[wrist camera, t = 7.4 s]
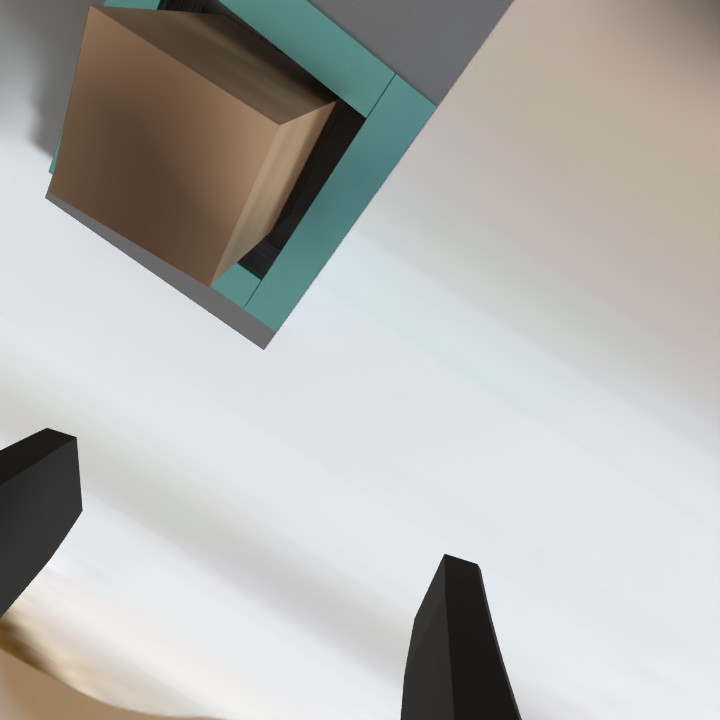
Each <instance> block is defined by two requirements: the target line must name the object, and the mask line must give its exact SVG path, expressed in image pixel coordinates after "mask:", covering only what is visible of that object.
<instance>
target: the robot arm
mask: <svg viewBox="0 0 720 720" xmlns="http://www.w3.org/2000/svg"><path fill="white" fill-rule="evenodd" d="M82 511H83V510H82V498H81V486H80V473H79V461H78V449H77V437H74V436H71V435H68V434H65V433H62V432H58V431H55V430H52V429H49V428H46V429H44V430H41V431H39V432H37V433H35V434H33V435H31V436H29V437H27V438H25V439H23V440H21V441H19V442H16V443H14V444H12V445H10V446H8V447H6V448H4V449H2V450H0V618H1V617H2V615H3V614H4V613H5V612H6V611H7V610H8V608H9V607H10V606H11V605H12V604H13V603H14V601H15V600H16V599H17V598H18V597H19V596H20V594H21V593H22V592H23V591H24V590H25V588H26V587H27V586H28V585H29V584H30V583H31V581H32V580H33V579H34V578H35V577H36V576H37V574H38V573H39V572H40V571H41V570H42V568H43V567H44V566H45V565H46V564H47V562H48V561H49V560H50V559H51V557H52V556H53V554H54V553H55V551H56V550H57V549H58V547H59V546H60V544H61V543H62V541H63V540H64V538H65V537H66V536H67V534H68V532H69V531H70V529H71V528H72V526H73V525H74V523H75V522H76V520H77V519H78V517H79V515H80V514H81V512H82ZM401 720H522V719H521V716H520V713H519V710H518V707H517V704H516V701H515V698H514V694H513V691H512V688H511V685H510V681H509V678H508V675H507V672H506V669H505V665H504V662H503V659H502V655H501V652H500V648H499V645H498V641H497V637H496V633H495V630H494V626H493V622H492V618H491V614H490V610H489V606H488V602H487V597H486V593H485V588H484V584H483V579H482V574H481V570H480V568H479V566H478V565H477V564H475V563H472V562H469V561H466V560H463V559H459V558H456V557H453V556H450V555H447V554H444V556H443V558H442V560H441V563H440V565H439V567H438V569H437V571H436V573H435V576H434V578H433V580H432V582H431V584H430V586H429V589H428V591H427V593H426V595H425V597H424V599H423V602H422V604H421V606H420V608H419V610H418V613H417V615H416V617H415V619H414V625H413V630H412V636H411V641H410V646H409V652H408V658H407V663H406V669H405V675H404V685H403V697H402V709H401Z"/></svg>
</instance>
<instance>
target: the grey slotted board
mask: <svg viewBox="0 0 720 720" xmlns="http://www.w3.org/2000/svg"><path fill="white" fill-rule="evenodd" d="M219 1H220V2H221V3H222V4H224V5H225V6H226V7H227V8H229V9H230V10H231V11H232V12H234V13H235V14H236V15H237V16H239V17H240V18H241V19H242V20H244V21H245V22H246V23H247V24H249V25H250V26H251V27H252V28H254V29H255V30H256V31H257V32H259V33H260V34H261V35H262V36H264V37H265V38H266V39H267V40H269V41H270V42H271V43H273V44H274V45H275V46H276V47H278V48H279V49H280V50H281V51H283V52H284V53H285V54H286V55H288V56H289V57H290V58H291V59H293V60H294V61H295V62H296V63H298V64H299V65H300V66H301V67H303V68H304V69H305V70H306V71H308V72H309V73H310V74H311V75H313V76H314V77H315V78H316V79H318V80H319V81H320V82H321V83H323V84H324V85H325V86H326V87H328V88H329V89H330V90H331V91H333V92H334V93H335V94H337V95H338V96H339V97H340V98H342V99H343V100H344V101H345V102H347V103H348V104H349V105H350V106H352V107H353V108H354V109H355V110H357V111H358V112H359V113H360V114H362V115H363V116H364V117H365V118H367V117H368V118H367V120H366V121H365V123H364V124H363V126H362V127H361V129H360V130H359V132H358V133H357V135H356V137H355V138H354V140H353V141H352V143H351V144H350V146H349V147H348V149H347V150H346V152H345V154H344V155H343V157H342V158H341V160H340V161H339V163H338V164H337V166H336V167H335V169H334V170H333V172H332V174H331V175H330V177H329V178H328V180H327V181H326V183H325V184H324V186H323V187H322V189H321V191H320V192H319V194H318V195H317V197H316V198H315V200H314V201H313V203H312V204H311V206H310V208H309V209H308V211H307V212H306V214H305V215H304V217H303V218H302V220H301V221H300V223H299V224H298V226H297V228H296V229H295V231H294V232H293V234H292V235H291V237H290V238H289V240H288V241H287V243H286V245H285V246H284V248H283V249H282V251H280V250H279V249H277V248H276V247H275V246H273V245H272V244H271V243H269V242H268V241H266V240H265V239H264V238H263V239H262V240H261V241H260V242H259V243H258V244H256V245H255V246H254V247H253V248H252V249H251V250H250V251H249V252H248V253H246V254H245V255H244V256H243V257H242V258H241V259H240V260H239V261H238V262H236V263H235V264H234V265H233V266H232V267H231V268H230V269H229V270H228V271H226V272H225V273H224V274H223V275H222V276H221V277H220V278H219V279H218V280H217V281H215V282H214V283H213V284H212V285H211V286H210V287H207V286H205V285H204V284H202V283H200V282H199V281H197V280H195V279H194V278H192V277H190V276H189V275H187V274H185V273H184V272H182V271H180V270H178V269H177V268H175V267H173V266H172V265H170V264H168V263H167V262H165V261H163V260H162V259H160V258H158V257H157V256H155V255H153V254H152V253H150V252H148V251H147V250H145V249H143V248H141V247H140V246H138V245H136V244H135V243H133V242H131V241H130V240H128V239H126V238H125V237H123V236H121V235H120V234H118V233H116V232H115V231H113V230H111V229H109V228H108V227H106V226H104V225H103V224H101V223H99V222H98V221H96V220H94V219H93V218H91V217H89V216H88V215H86V214H84V213H83V212H81V211H79V210H77V209H76V208H74V207H72V206H71V205H69V204H67V203H66V202H64V201H62V200H61V199H59V198H57V197H56V196H54V195H52V194H51V193H49V192H50V188H51V183H52V179H53V176H52V179H51V182H50V185H49V188H48V191H47V194H46V197H45V198H46V199H48V200H49V201H51V202H52V203H53V204H55V205H56V206H58V207H59V208H61V209H62V210H63V211H65V212H66V213H68V214H69V215H71V216H72V217H73V218H75V219H76V220H78V221H79V222H81V223H82V224H84V225H85V226H86V227H88V228H89V229H91V230H92V231H94V232H95V233H96V234H98V235H99V236H101V237H102V238H104V239H105V240H106V241H108V242H109V243H111V244H112V245H114V246H115V247H117V248H118V249H119V250H121V251H122V252H124V253H125V254H127V255H128V256H129V257H131V258H132V259H134V260H135V261H137V262H138V263H140V264H141V265H142V266H144V267H145V268H147V269H148V270H150V271H151V272H152V273H154V274H155V275H157V276H158V277H160V278H161V279H162V280H164V281H165V282H167V283H168V284H170V285H171V286H173V287H174V288H175V289H177V290H178V291H180V292H181V293H183V294H184V295H185V296H187V297H188V298H190V299H191V300H193V301H194V302H196V303H197V304H198V305H200V306H201V307H203V308H204V309H206V310H207V311H208V312H210V313H211V314H213V315H214V316H216V317H217V318H218V319H220V320H221V321H223V322H224V323H226V324H227V325H229V326H230V327H231V328H233V329H234V330H236V331H237V332H239V333H240V334H241V335H243V336H244V337H246V338H247V339H249V340H250V341H252V342H253V343H254V344H256V345H257V346H259V347H260V348H262V349H263V350H264V349H265V348H266V347H267V345H268V344H269V342H270V341H271V340H272V338H273V337H274V335H275V334H276V333H277V331H278V330H279V329H280V327H281V326H282V324H283V323H284V322H285V320H286V319H287V317H288V316H289V315H290V313H291V312H292V310H293V309H294V308H295V306H296V305H297V303H298V302H299V301H300V299H301V298H302V296H303V295H304V294H305V292H306V291H307V289H308V288H309V287H310V285H311V284H312V282H313V281H314V280H315V278H316V277H317V275H318V274H319V273H320V271H321V270H322V268H323V267H324V266H325V264H326V263H327V261H328V260H329V259H330V257H331V256H332V254H333V253H334V252H335V250H336V249H337V247H338V246H339V245H340V243H341V242H342V240H343V239H344V238H345V236H346V235H347V233H348V232H349V231H350V229H351V228H352V226H353V225H354V224H355V222H356V221H357V219H358V218H359V217H360V215H361V214H362V212H363V211H364V210H365V208H366V207H367V205H368V204H369V203H370V201H371V200H372V198H373V197H374V196H375V194H376V193H377V191H378V190H379V189H380V187H381V186H382V184H383V183H384V182H385V180H386V179H387V177H388V176H389V175H390V173H391V172H392V170H393V169H394V168H395V166H396V165H397V163H398V162H399V161H400V159H401V158H402V156H403V155H404V153H405V152H406V151H407V149H408V148H409V146H410V145H411V144H412V142H413V141H414V139H415V138H416V137H417V135H418V134H419V132H420V131H421V130H422V128H423V127H424V125H425V124H426V123H427V121H428V120H429V118H430V117H431V116H432V114H433V113H434V111H435V110H436V109H437V107H438V106H439V104H440V103H441V102H442V100H443V99H444V97H445V96H446V95H447V93H448V92H449V90H450V89H451V88H452V86H453V85H454V83H455V82H456V81H457V79H458V78H459V76H460V75H461V74H462V72H463V71H464V69H465V68H466V67H467V65H468V64H469V62H470V61H471V60H472V58H473V57H474V55H475V54H476V53H477V51H478V50H479V48H480V47H481V46H482V44H483V43H484V41H485V40H486V39H487V37H488V36H489V34H490V33H491V32H492V30H493V29H494V27H495V26H496V25H497V23H498V22H499V20H500V19H501V18H502V16H503V15H504V13H505V12H506V11H507V9H508V8H509V6H510V5H511V4H512V2H513V1H514V0H219ZM204 3H205V0H105V2H104V5H103V6H110V7H124V8H138V9H152V10H167V11H181V12H195V13H200V12H201V10H202V7H203V5H204ZM63 128H64V127H63ZM62 132H63V130H62ZM61 137H62V133H61V136H60V139H59V142H58V145H57V148H56V151H55V154H54V157H53V160H52V163H51V166H50V169H49V172H50V173H51V174H52V175H53V174H54V169H55V165H56V160H57V155H58V151H59V146H60V142H61Z"/></svg>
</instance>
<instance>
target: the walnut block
mask: <svg viewBox="0 0 720 720" xmlns="http://www.w3.org/2000/svg"><path fill="white" fill-rule="evenodd" d="M344 103H345V101H344V100H343V99H342V98H340V97H339V96H338V95H337V94H335V93H334V92H333V91H331V90H330V89H329V88H328V87H326V86H325V85H324V84H323V83H321V82H320V81H319V80H318V79H316V78H315V77H314V76H313V75H311V74H310V73H309V72H308V71H306V70H305V69H304V68H303V67H301V66H300V65H299V64H298V63H296V62H295V61H294V60H292V59H291V58H289V57H288V56H286V55H285V54H283V53H281V52H280V51H278V50H277V49H275V48H274V47H272V46H271V45H269V44H268V43H266V42H265V41H263V40H262V39H260V38H258V37H257V36H255V35H254V34H252V33H251V32H249V31H248V30H246V29H245V28H243V27H242V26H240V25H238V24H237V23H235V22H234V21H232V20H231V19H229V18H228V17H226V16H225V15H223V14H210V13H195V12H181V11H167V10H152V9H138V8H124V7H110V6H95V5H90V8H89V12H88V17H87V21H86V26H85V31H84V35H83V40H82V45H81V49H80V54H79V58H78V63H77V68H76V72H75V77H74V82H73V86H72V91H71V95H70V100H69V105H68V109H67V114H66V119H65V123H64V128H63V132H62V137H61V142H60V146H59V151H58V155H57V160H56V165H55V169H54V174H53V179H52V183H51V188H50V192H49V193H51V194H52V195H54V196H56V197H57V198H59V199H61V200H62V201H64V202H66V203H67V204H69V205H71V206H72V207H74V208H76V209H77V210H79V211H81V212H83V213H84V214H86V215H88V216H89V217H91V218H93V219H94V220H96V221H98V222H99V223H101V224H103V225H104V226H106V227H108V228H109V229H111V230H113V231H115V232H116V233H118V234H120V235H121V236H123V237H125V238H126V239H128V240H130V241H131V242H133V243H135V244H136V245H138V246H140V247H141V248H143V249H145V250H147V251H148V252H150V253H152V254H153V255H155V256H157V257H158V258H160V259H162V260H163V261H165V262H167V263H168V264H170V265H172V266H173V267H175V268H177V269H178V270H180V271H182V272H184V273H185V274H187V275H189V276H190V277H192V278H194V279H195V280H197V281H199V282H200V283H202V284H204V285H205V286H207V287H210V286H211V285H212V284H213V283H214V282H215V281H217V280H218V279H219V278H220V277H221V276H222V275H223V274H224V273H225V272H226V271H228V270H229V269H230V268H231V267H232V266H233V265H234V264H235V263H236V262H238V261H239V260H240V259H241V258H242V257H243V256H244V255H245V254H246V253H248V252H249V251H250V250H251V249H252V248H253V247H254V246H255V245H256V244H258V243H259V242H260V241H261V240H262V239H263V238H264V237H265V236H266V235H268V234H269V233H270V232H271V231H272V230H273V229H274V228H275V227H276V226H278V225H279V224H280V223H281V222H282V221H283V220H284V219H285V218H286V217H288V216H289V214H290V212H291V210H292V208H293V206H294V204H295V202H296V200H297V198H298V196H299V194H300V192H301V190H302V188H303V186H304V184H305V182H306V180H307V178H308V176H309V174H310V172H311V170H312V168H313V166H314V164H315V161H316V159H317V157H318V155H319V153H320V151H321V149H322V147H323V145H324V143H325V141H326V139H327V137H328V135H329V133H330V131H331V129H332V127H333V125H334V123H335V121H336V119H337V117H338V115H339V113H340V111H341V109H342V107H343V105H344Z"/></svg>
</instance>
